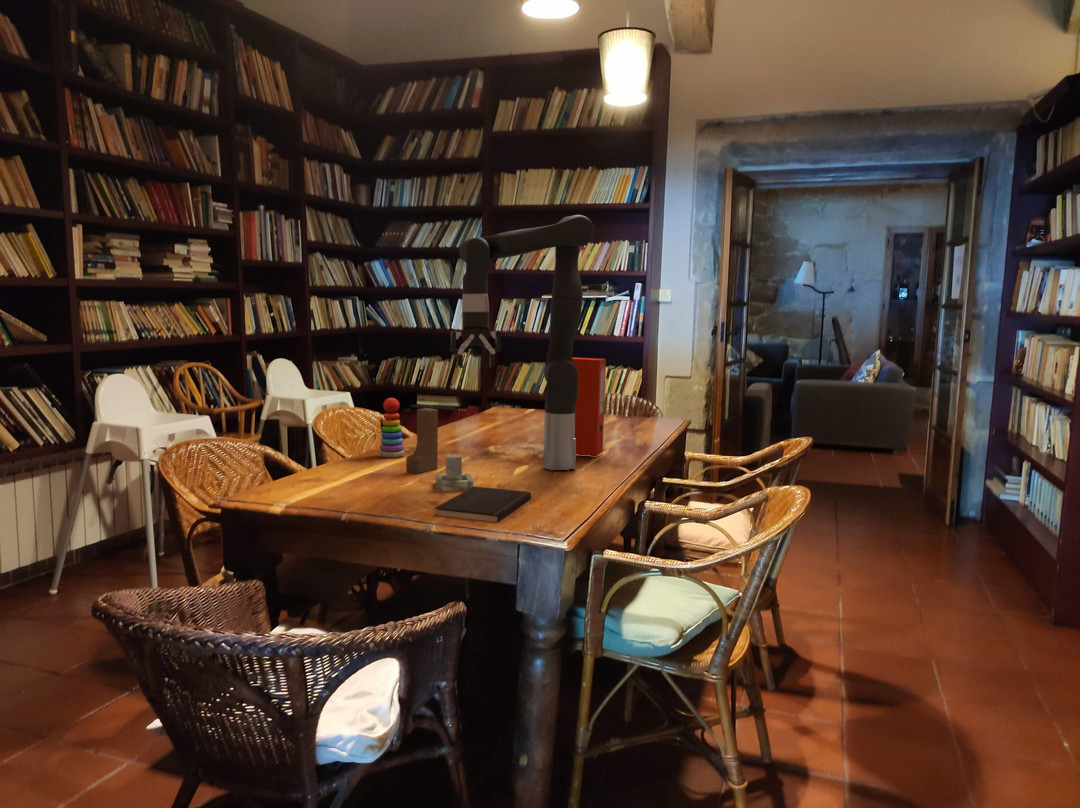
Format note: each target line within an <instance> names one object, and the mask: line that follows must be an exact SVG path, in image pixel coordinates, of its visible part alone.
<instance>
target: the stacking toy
mask: <svg viewBox="0 0 1080 808" xmlns="http://www.w3.org/2000/svg"><path fill="white" fill-rule="evenodd" d="M383 410H384V411H385V413H384V414H383V418H384V420H383V421H382V425H383V426H382V427H381V430H382V432H381V437H382V438H381V439H380V443H381V444H380V445H379V449H380V451H379V453H378V454H379V456H380V457H382V458H387V459H395V458H396V457H397V458H401V456H402V457H403V456H404V455H405V450H404V444H403V443H404V439H403V437H402V436H403V432H402V427H401V421H400V419H399V418H400V414H399V413H398V411H399V410H400V402H399V400H397V399H396V398H395V397H388V398H386V399H385V400H384V402H383ZM397 458H396V459H397Z"/></svg>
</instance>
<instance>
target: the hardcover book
mask: <svg viewBox="0 0 1080 808" xmlns="http://www.w3.org/2000/svg"><path fill="white" fill-rule="evenodd" d="M531 499H532V493H531V492H530V491H524V490H514V489H503V488H494V487H483V486H482V487H481V486H474V485H473V487H472V488H470V489H468V490H467V491H462V492H461V493H459V494H458V495H455V496H454V497H452V498H450V499H448V500H447V501H445V502H443V503H441V504H439V505H437V506H436V507H434V508H433V509H434V510H436V513H435V515H436V514H437V515H436V516H441V515H444V516H443V517H450V516H451V518H458V517H459V518H460V519H467V518H468V519H467V520H469V519H470V520H475V521H477V520H478V521H484V522H492V523H493V522H494V523H500V522H501V521H502V520H504V519H505V518H506V517H508V516H509V515H511V514H512V513H514V511H516V510H517V509H519V508H521V507H522V506H523V505H524V504H526V503H527V502H529V501H530V500H531ZM459 518H458V519H459Z"/></svg>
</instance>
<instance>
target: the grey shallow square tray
mask: <svg viewBox="0 0 1080 808" xmlns="http://www.w3.org/2000/svg"><path fill="white" fill-rule="evenodd" d="M435 487H436V488H437V489H436V492H437V491H438V492H456V491H455V490H458V491H457V492H461V491H460V490H463V491H462V492H465V490H468V489H470V488H472V487H474V480H473V478H472V474H471V473H462V480H457V481H446V473H436V474H435Z"/></svg>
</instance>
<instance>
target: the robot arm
mask: <svg viewBox="0 0 1080 808" xmlns="http://www.w3.org/2000/svg"><path fill="white" fill-rule="evenodd" d="M594 234H595V227H594V224H593V222H592V221H591V219H590V218H588V217H587V216H585V215H582V214H576V215H575V214H574V215H569V216H564V217H563V218H561V219H560V220H559V221H558V222H557V223H554V224H553V223H552V224H550V225H545V226H537V227H531V228H522V229H516V230H509V231H504V232H500V233H496V234H494V235H489V236H482V237H480V236H479V237H471V238H469V239H466V240H464V241H463V242H462V243H461V244H460V246H459V248H458V254H459V257H460V259H461V260H462V261H463V262H464V263H465V273H463V277H462V281H461V282H462V297H461V298H462V299H461V327H462V330H461V331H454V330H453V331H451V332H450V352H451V353H453V354H456V355H457V356H456V358H457V359H456V361H457V362H456V363H457V366H458V367H459V368H460V369H463V368H464V359H463V358H464V356H463V352H464V351H465V350H466V349H467V347H468V346H469V347H471V348H473V347H485V349H487V351H489V354H488V355H489V358H488V359H489V368H494V366H495V365H496V354H498V353H500V352H502V339H501V338H502V337H501V332H500V331H499V330H495V331H491V330H490V314H489V313H490V303H489V302H490V301H489V296H488V295H489V294H488V293H489V292H488V290H489V289H488V275H489V271H490V269H489V268H490V261H491V260H495V259H496V260H497V259H506V258H512V257H517V256H521V255H525V254H529V253H533V252H539V251H541V250H547V249H551V248H555V250H554V251H555V252H554V253H555V256H554V257H555V260H554V270H553V271H554V273H553V284H552V290H551V291H552V292H551V300H550V315H549V316H550V317H549V318H550V319H549V343H548V349H547V356H546V360H545V364H544V371H543V375H544V380H545V382H546V397H545V398H546V399H545V403H544V421H543V422H544V427H543V429H544V430H543V461H542V462H543V463H542V467H544V468H546V469H545V470H547V469H549V470H548V471H553V470H567V471H570V470H569V469H575V470H576V458H577V456H576V438H575V437H574V434H575V407H576V403H577V392H578V372H577V369H576V367H575V365H574V364H573V363H572V358H573V348H574V347H573V346H574V340H575V337H576V334H577V332H578V331H577V330H578V329H579V325H580V321H581V318H582V317H581V316H582V310H583V308H582V307H583V299H584V295H583V294H584V292H583V285H582V282H581V276H580V270H579V257H580V250H581V248H582V247H584V246H587V245H588V244H589V243H590V242H591V241H592V240H593V238H594ZM460 336H461V339H462V340H463V343H461V345H460V347H459V348H458V349H457V347H456V345H457V340H458V339H459V337H460ZM491 336H492V339H494V340H495V341H494V342H495V348H494V347H492V345H491V344H490V343H489V342H488V340H489V339H490V337H491ZM544 468H543V469H544Z"/></svg>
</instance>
